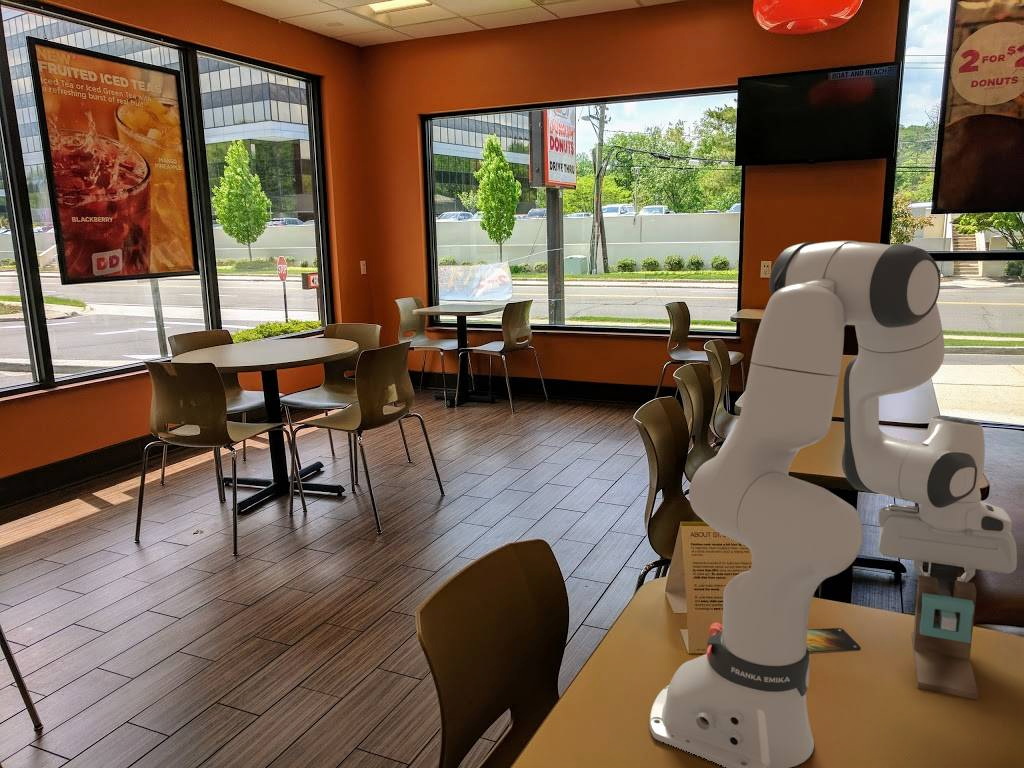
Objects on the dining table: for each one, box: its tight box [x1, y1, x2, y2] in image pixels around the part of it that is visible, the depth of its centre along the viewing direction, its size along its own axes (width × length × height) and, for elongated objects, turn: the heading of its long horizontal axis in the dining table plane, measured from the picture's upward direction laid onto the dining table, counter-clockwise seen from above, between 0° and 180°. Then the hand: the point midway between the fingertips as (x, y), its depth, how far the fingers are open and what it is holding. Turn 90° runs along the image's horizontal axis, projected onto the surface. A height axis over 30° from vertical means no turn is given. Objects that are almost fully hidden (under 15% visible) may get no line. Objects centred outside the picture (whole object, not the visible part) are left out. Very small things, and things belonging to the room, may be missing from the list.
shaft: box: [927, 562, 959, 631], centre depth 121 cm, size 4×14×7 cm, turn 155°
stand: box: [910, 574, 979, 701], centre depth 118 cm, size 8×16×13 cm, turn 155°
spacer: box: [919, 593, 975, 643], centre depth 119 cm, size 7×2×6 cm, turn 65°
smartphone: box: [806, 627, 862, 654], centre depth 128 cm, size 7×1×15 cm
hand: (941, 586), depth 126 cm, fingers closed on shaft, 4 cm apart
